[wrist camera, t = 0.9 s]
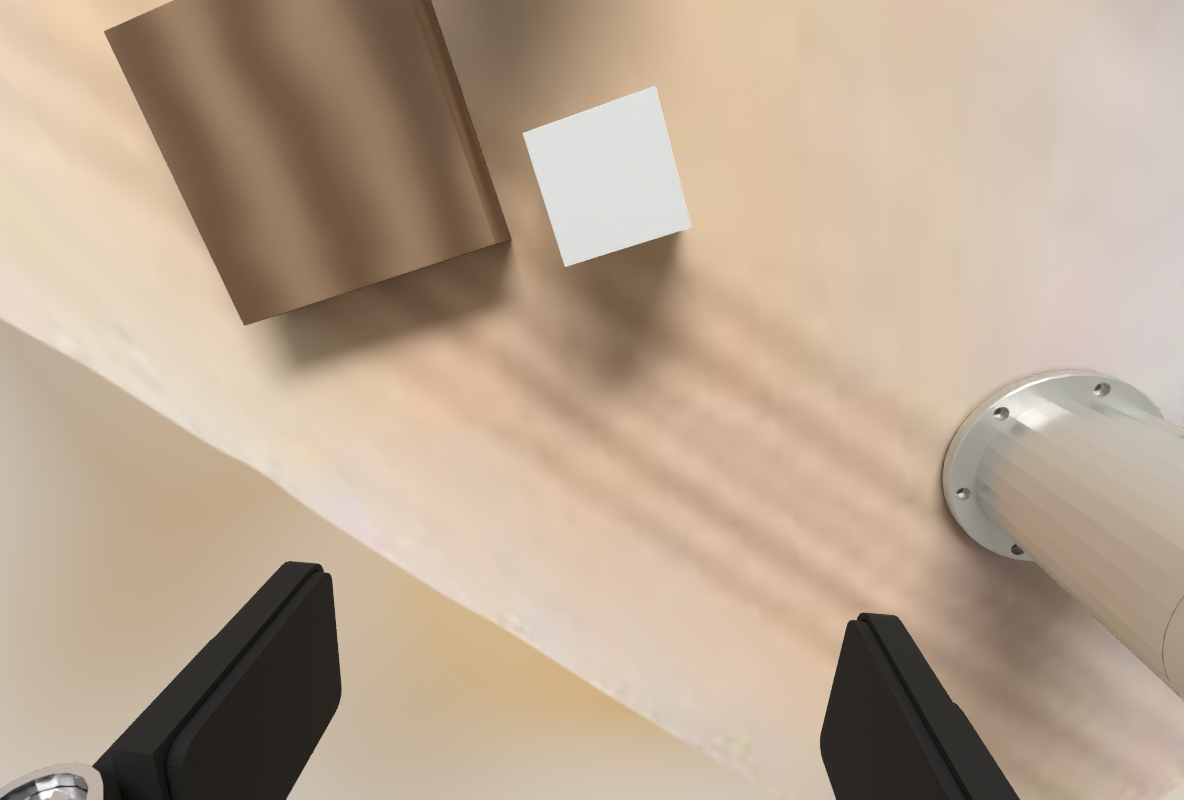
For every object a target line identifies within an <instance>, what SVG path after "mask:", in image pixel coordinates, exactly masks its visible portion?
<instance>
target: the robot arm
mask: <svg viewBox="0 0 1184 800" xmlns="http://www.w3.org/2000/svg"><path fill="white" fill-rule="evenodd" d="M996 409H997V410H996ZM995 410H996V411H995ZM942 480H943V489H944V496H945V499H946V502H947V505H948V508H949V510H950V512H951V513H952V515H953V517H954V518H955V520H956V521H957V523H958V524H959V525H960V526H961V527H962V528H963V529H964V530H965V532H966V533H967V534H968V535H969V536H970V537H971V538H973V539H974V540H975V541H976V542H978V543H979V544H980V545H981V546H983V547H985V548H987V549H988V550H990V551H992V552H994V553H996V554H998V555H1001V556H1005V557H1008V558H1011V559H1015V560H1022V561H1031V562H1035V563H1037V564H1038V565H1039V566H1040V567H1041V568H1042V569H1043V570H1044V571H1045V572H1046V573H1047V574H1048V575H1049V576H1050V577H1052V578H1053V579H1054V580H1055V581H1056V582H1057V583H1058V584H1059V585H1060V586H1061V587H1062V588H1063V589H1064V590H1065V591H1067V592H1068V593H1069V594H1070V595H1071V596H1072V597H1073V598H1074V599H1075V600H1076V601H1077V602H1078V603H1079V604H1080V605H1082V606H1083V607H1084V608H1085V609H1086V610H1087V611H1088V612H1089V613H1090V614H1091V615H1092V616H1093V617H1094V618H1095V619H1097V620H1098V621H1099V622H1100V623H1101V624H1102V625H1103V626H1104V627H1105V628H1106V629H1107V630H1108V631H1109V632H1110V633H1112V634H1113V635H1114V636H1115V637H1116V638H1117V639H1118V640H1119V641H1120V642H1121V643H1122V644H1123V645H1124V646H1125V647H1127V648H1128V649H1129V650H1130V651H1131V652H1132V653H1133V654H1134V655H1135V656H1136V657H1137V658H1138V659H1139V660H1140V661H1142V662H1143V663H1144V664H1145V665H1146V666H1147V667H1148V668H1149V669H1150V670H1151V671H1152V672H1153V673H1154V674H1156V675H1157V676H1158V677H1159V678H1160V679H1161V680H1162V681H1163V682H1164V683H1165V684H1166V685H1167V686H1168V687H1169V688H1171V689H1172V690H1173V691H1174V692H1175V693H1176V694H1177V695H1178V696H1179V697H1180V698H1181V699H1182V700H1183V701H1184V428H1183V427H1180V426H1178V425H1176V424H1173V423H1171V422H1169V421H1166V420H1165V419H1164V417H1163V416H1162V414H1161V412H1160V410H1159V409H1158V408H1157V406H1156V405H1155V404H1154V403H1153V402H1152V401H1151V400H1150V399H1149V398H1148V396H1146V395H1145V394H1143V393H1142V392H1140V391H1139V390H1138V389H1136V388H1135V387H1133V386H1132V385H1129V384H1127V383H1125V382H1122V381H1120V380H1118V379H1115V378H1113V377H1109V376H1106V375H1103V374H1099V373H1096V372H1090V371H1080V370H1063V371H1051V372H1046V373H1042V374H1038V375H1034V376H1030V377H1027V378H1025V379H1022V380H1020V381H1018V382H1015V383H1013V384H1010V385H1008V386H1006V387H1005V388H1003V389H1002V390H1000V391H998V392H997V393H995V394H993V395H992V396H990V397H989V398H988V399H987V400H985V401H984V402H983V403H982V404H981V405H980V406H978V407H977V408H976V409H975V410H974V411H973V412H972V413H971V414H970V415H969V417H968V418H967V419H966V420H965V421H964V423H963V424H962V425H961V426H960V428H959V429H958V431H957V433H956V435H955V436H954V438H953V440H952V442H951V443H950V446H949V449H948V452H947V455H946V458H945V461H944V469H943V477H942ZM339 665H340V664H339V653H338V642H337V630H336V619H335V608H334V597H333V586H332V577H331V575H330V574H329V573H324V571H323V568H322V566H321V565H320V564H315V563H303V562H293V561H289V562H285V563H284V564H283V565H282V566H281V567H280V568H279V569H278V570H277V571H276V572H275V573H274V574H273V576H271V578H270V579H269V580H268V581H267V582H266V583H265V584H264V585H263V586H262V587H261V588H260V589H259V590H258V591H257V593H256V594H255V595H254V596H253V597H252V598H251V599H250V600H249V601H248V602H247V603H246V604H245V605H244V606H243V608H242V609H241V610H240V611H239V612H238V613H237V614H236V615H235V616H234V617H233V618H232V619H231V620H230V621H229V622H228V624H227V625H226V626H225V627H224V628H223V629H222V630H221V631H220V632H219V633H218V634H217V635H216V636H215V637H214V638H213V639H212V640H210V641H209V642H208V643H207V645H206V646H205V647H204V648H203V649H202V650H201V651H200V652H199V653H198V654H197V655H196V656H195V657H194V658H193V659H192V660H191V662H190V663H189V664H188V665H187V666H186V667H185V668H184V669H183V670H182V671H181V672H180V673H179V674H178V675H177V676H176V678H175V679H174V680H173V681H172V682H171V683H170V684H169V685H168V686H167V687H166V688H165V689H164V690H163V691H162V692H161V693H160V695H159V696H158V697H157V698H156V699H155V700H154V701H153V702H152V703H151V704H150V705H149V706H148V707H147V708H146V710H144V712H143V713H142V714H141V715H140V716H139V717H138V718H137V719H136V720H135V721H134V722H133V723H132V724H131V725H130V726H129V728H128V729H127V730H126V731H125V732H124V733H123V734H122V735H121V736H120V737H119V738H118V739H117V740H116V741H115V742H114V743H113V745H112V746H111V747H110V748H109V749H108V750H107V751H106V752H105V753H104V754H103V755H102V756H101V757H100V758H99V759H98V761H97V762H96V763H95V764H94V765H93V766H90V765H85V764H80V763H67V764H57V765H53V766H49V767H46V768H43V769H39V770H36V771H33V772H31V773H29V774H27V775H25V776H23V777H20V778H18V779H16V780H14V781H12V782H10V783H9V784H7V785H6V786H4V787H2V788H1V789H0V800H286V799H287V797H288V795H289V793H290V792H291V790H292V788H293V786H294V784H295V783H296V781H297V779H298V777H299V776H300V774H301V772H302V770H303V769H304V767H305V765H306V763H307V762H308V760H309V758H310V756H311V754H312V753H313V751H314V749H315V747H316V746H317V744H318V742H319V740H320V738H321V737H322V735H323V733H324V732H325V730H326V728H327V726H328V725H329V723H330V721H331V719H332V717H333V716H334V714H335V712H336V710H337V708H338V705H339V701H340V698H341V677H340V666H339ZM820 749H821V755H822V759H823V762H824V765H825V768H826V771H827V774H828V777H829V780H830V783H831V786H832V788H833V791H834V794H835V797H836V800H1020V799H1019V797H1018V796H1017V794H1016V793H1015V791H1014V790H1013V788H1012V787H1011V785H1010V783H1009V782H1008V780H1007V779H1006V777H1005V776H1004V774H1003V773H1002V771H1001V770H1000V768H999V766H998V765H997V763H996V762H995V760H994V759H993V757H992V756H991V754H990V753H989V751H988V749H987V748H986V746H985V745H984V743H983V742H982V740H981V739H980V737H979V735H978V734H977V732H976V731H975V729H974V728H973V726H972V725H971V723H970V722H969V720H968V718H967V717H966V715H965V714H964V712H963V711H962V710H961V709H960V708H959V706H958V705H957V704H955V703H954V702H952V700H951V699H950V697H949V695H948V694H947V692H946V691H945V689H944V688H943V686H942V685H941V683H940V681H939V680H938V678H937V677H936V675H935V674H934V672H933V670H932V669H931V667H930V666H929V664H928V663H927V661H926V659H925V658H924V656H923V655H922V653H921V652H920V650H919V648H918V647H917V645H916V644H915V642H914V641H913V639H912V637H911V636H910V634H909V633H908V631H907V630H906V628H905V627H904V625H903V623H902V622H901V620H900V619H899V618H898V617H897V616H894V615H885V614H874V613H861V614H860V615H859V616H858V618H857V620H851V621H849V622H848V624H847V627H846V631H845V636H844V640H843V644H842V648H841V652H840V656H839V660H838V665H837V669H836V673H835V677H834V681H833V685H832V689H831V694H830V698H829V702H828V706H827V710H826V714H825V718H824V723H823V727H822V731H821V736H820Z"/></svg>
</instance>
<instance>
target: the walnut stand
mask: <svg viewBox="0 0 1184 800" xmlns="http://www.w3.org/2000/svg"><path fill="white" fill-rule="evenodd" d="M104 33H105V35H106V37H107V39H108V41H109V43H110V45H111V48H112V50H113V52H114V54H115V56H116V58H117V60H118V62H119V64H120V66H121V68H122V71H123V73H124V75H125V77H126V79H127V81H128V83H129V85H130V87H131V89H132V92H133V94H134V96H135V98H136V100H137V102H138V104H139V106H140V108H141V110H142V112H143V115H144V117H145V119H146V121H147V123H148V125H149V127H150V129H151V131H152V133H153V136H154V138H155V140H156V142H157V144H158V146H159V148H160V150H161V152H162V154H163V156H164V159H165V161H166V163H167V165H168V167H169V169H170V171H171V173H172V175H173V177H174V180H175V182H176V184H177V186H178V188H179V190H180V192H181V194H182V196H183V198H184V200H185V203H186V205H187V207H188V209H189V211H190V213H191V215H192V217H193V219H194V221H195V223H196V226H197V228H198V230H199V232H200V234H201V236H202V238H203V240H204V242H205V244H206V247H207V249H208V251H209V253H210V255H211V257H212V259H213V261H214V263H215V265H216V267H217V270H218V272H219V274H220V276H221V278H222V280H223V282H224V284H225V286H226V288H227V291H228V293H229V295H230V297H231V299H232V301H233V303H234V305H235V307H236V309H237V311H238V314H239V316H240V318H241V320H242V322H243V324H244V325H248V324H251V323H254V322H257V321H261V320H264V319H267V318H270V317H274V316H277V315H280V314H283V313H286V312H289V311H292V310H296V309H299V308H302V307H305V306H308V305H311V304H314V303H317V302H320V301H323V300H326V299H329V298H332V297H335V296H338V295H342V294H345V293H348V292H351V291H354V290H357V289H360V288H363V287H366V286H369V285H372V284H375V283H378V282H381V281H384V280H387V279H391V278H394V277H397V276H400V275H403V274H406V273H409V272H412V271H415V270H418V269H421V268H424V267H427V266H430V265H433V264H437V263H440V262H443V261H446V260H449V259H452V258H455V257H458V256H461V255H464V254H467V253H470V252H473V251H476V250H479V249H483V248H486V247H489V246H492V245H495V244H498V243H501V242H504V241H507V240H510V239H511V237H510V234H509V231H508V228H507V225H506V222H505V219H504V216H503V213H502V210H501V207H500V204H499V201H498V198H497V195H496V192H495V189H494V186H493V183H492V180H491V177H490V174H489V171H488V168H487V165H486V162H485V159H484V156H483V154H482V151H481V148H480V145H479V142H478V139H477V136H476V133H475V130H474V127H473V124H472V121H471V118H470V115H469V112H468V109H467V106H466V103H465V100H464V97H463V94H462V91H461V88H460V85H459V82H458V79H457V76H456V73H455V71H454V68H453V65H452V62H451V59H450V56H449V53H448V50H447V47H446V44H445V41H444V38H443V35H442V32H441V29H440V26H439V23H438V20H437V17H436V14H435V11H434V8H433V5H432V2H431V0H174V1H171V2H169V3H167V4H165V5H162V6H160V7H158V8H156V9H153V10H151V11H149V12H147V13H144V14H142V15H140V16H138V17H135V18H133V19H131V20H129V21H126V22H124V23H122V24H120V25H117V26H115V27H113V28H111V29H108V30H106V31H104Z"/></svg>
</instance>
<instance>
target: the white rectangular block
mask: <svg viewBox="0 0 1184 800" xmlns="http://www.w3.org/2000/svg"><path fill="white" fill-rule="evenodd" d="M523 136H524V139H525V143H526V146H527V149H528V152H529V155H530V158H531V161H532V165H533V168H534V171H535V174H536V177H537V180H538V184H539V187H540V190H541V193H542V196H543V199H544V202H545V206H546V209H547V212H548V215H549V218H550V221H551V225H552V228H553V231H554V234H555V237H556V240H557V244H558V247H559V250H560V253H561V256H562V259H563V262H564V266H565V267H567V266H570V265H573V264H576V263H579V262H583V261H586V260H589V259H592V258H595V257H598V256H602V255H605V254H608V253H611V252H614V251H618V250H621V249H624V248H627V247H630V246H634V245H637V244H640V243H643V242H646V241H650V240H653V239H656V238H659V237H662V236H666V235H669V234H672V233H675V232H678V231H682V230H685V229H688V228H691V223H690V219H689V215H688V211H687V207H686V203H685V199H684V195H683V191H682V187H681V183H680V179H679V176H678V172H677V168H676V164H675V160H674V156H673V152H672V148H671V144H670V140H669V136H668V132H667V128H666V124H665V120H664V116H663V113H662V109H661V105H660V101H659V97H658V93H657V89H656V86H653V87H650V88H647V89H644V90H642V91H639V92H636V93H633V94H630V95H628V96H625V97H622V98H619V99H616V100H614V101H611V102H608V103H605V104H602V105H600V106H597V107H594V108H591V109H588V110H586V111H583V112H580V113H577V114H574V115H572V116H569V117H566V118H563V119H560V120H558V121H555V122H552V123H549V124H546V125H544V126H541V127H538V128H535V129H532V130H530V131H527V132H524V133H523Z"/></svg>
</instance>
